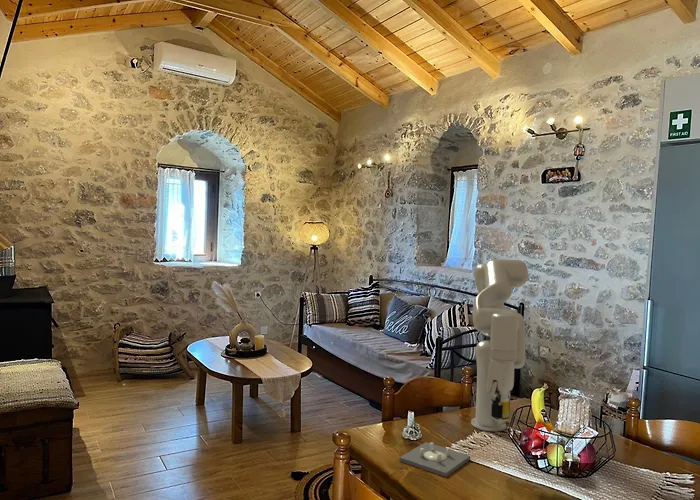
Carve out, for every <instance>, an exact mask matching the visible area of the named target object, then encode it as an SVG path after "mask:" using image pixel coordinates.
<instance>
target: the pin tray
mask: <svg viewBox="0 0 700 500" xmlns="http://www.w3.org/2000/svg"><path fill="white" fill-rule="evenodd" d="M434 443H435V442H432V441H431V442H427V441H425V442H424V443H422V444H420V445H418V446H416V447H415V448H413V449H412V450H410V451H408V452H406V453H404V454H403V455H401V456H399V462H401V463H404V464H407V465H410V466H412V467H416V468H419V469H421V470H424V471H427V472H431V473H433V474H436V475H438V476H440V477H445V478H447V477H449V476H450V475H451V474H452V473H453V472H455V471H456V470H458V469H459V468H460V467H462V466H463V465H465V464H466V463H467V462H469V461H471V455H469V454H466V453H462V452H459V451H456V450H452V449H451V447H443V446H440V445H437V444H434Z"/></svg>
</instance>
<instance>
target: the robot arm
mask: <svg viewBox="0 0 700 500" xmlns="http://www.w3.org/2000/svg"><path fill="white" fill-rule="evenodd" d="M528 277H529V269H528V266H527V265H526V263H525V261H523V260H520V259H501V258H498V259H492V260H489V261H488V262H486V263H481V264H477V266H475V268H474V283H475V286H476V289H477V292H478V294H477V296H475V299H474V301H473V304H472V322H473V327H474V328H475V330H477V331H478V332H480V333H481V335H484V336H486V337H490V340H489V339H487V340H481V341H479V342H478V343H477V344H476V347H475V361H476V374H477V375H476V398H475V399H476V400H475V417H473V418H472V419H471V421H470V424H471V425H472V427H473V428H476V429H478V430H481V431H486V432H502V431H505V430H506V429H507V424H506V423H507V422H506V421H496V420H494V419H493V418H492V417H496V418H500V419H501V418H502V415H503V405H502V398H503V395H504V394H506V393H507V392H508V398H509V411H510V409H511V408H510V403H511V401H510V400H511V392H512V391H513V388H514V385H515V384H514V383H515V369H521V368H523V367H524V365H525V364H526V323H525V318H524V316H523V315H522V314H521V313H520V312H519V313H518V311H517V310H515V309H512V308H511V309H510V308H505V306H504V305H505V302H506V301H507V300H509V299H510V298H511V296H512V294H513V288H521V287H522V286H524V285H525V284H526V283H527V281H528ZM497 392H500V393H499V394H498V393H497ZM496 396H500V397H499V399H498V397H496Z"/></svg>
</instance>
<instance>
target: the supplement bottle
mask: <svg viewBox="0 0 700 500" xmlns="http://www.w3.org/2000/svg"><path fill="white" fill-rule="evenodd" d="M497 393H498V394H499V393H500V392H497ZM496 397H498V399H499V397H500V396H496ZM502 405H503V415H502V418H501V419H500V418H496V417H492V418H493V419H494V420H496V421H504V422H507V421H509V419H510V410H509V398H508V392H507V393H506V394H504V395H503V398H502Z"/></svg>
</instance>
